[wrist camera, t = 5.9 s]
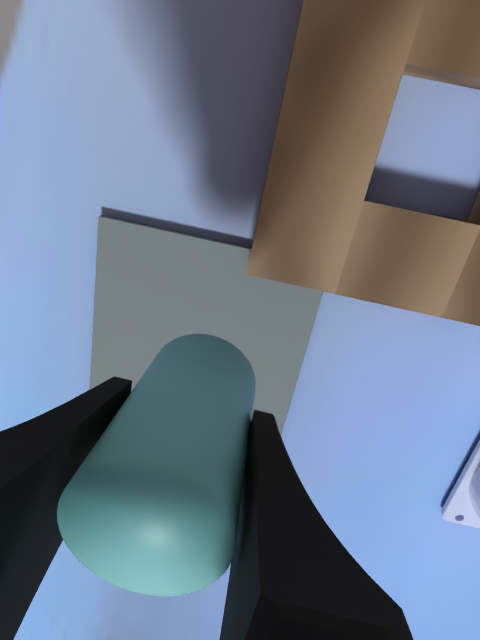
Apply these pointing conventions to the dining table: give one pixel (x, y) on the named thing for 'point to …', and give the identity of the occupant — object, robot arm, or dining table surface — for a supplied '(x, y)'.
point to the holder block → (366, 159)
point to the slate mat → (194, 307)
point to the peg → (167, 474)
